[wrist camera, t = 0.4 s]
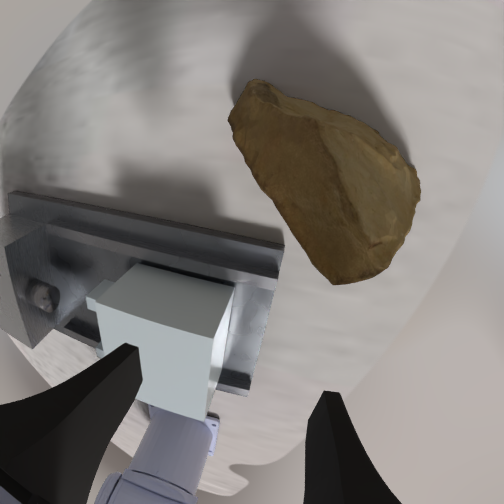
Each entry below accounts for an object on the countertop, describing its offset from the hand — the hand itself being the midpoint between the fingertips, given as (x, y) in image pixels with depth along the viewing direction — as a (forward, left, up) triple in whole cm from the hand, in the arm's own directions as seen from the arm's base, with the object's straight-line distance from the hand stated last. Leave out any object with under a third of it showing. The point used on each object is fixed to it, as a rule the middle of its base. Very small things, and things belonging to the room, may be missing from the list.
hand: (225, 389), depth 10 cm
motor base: (-5, +11, -10) cm, 16 cm away
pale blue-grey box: (-6, +6, -9) cm, 12 cm away
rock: (+9, -2, -10) cm, 14 cm away
